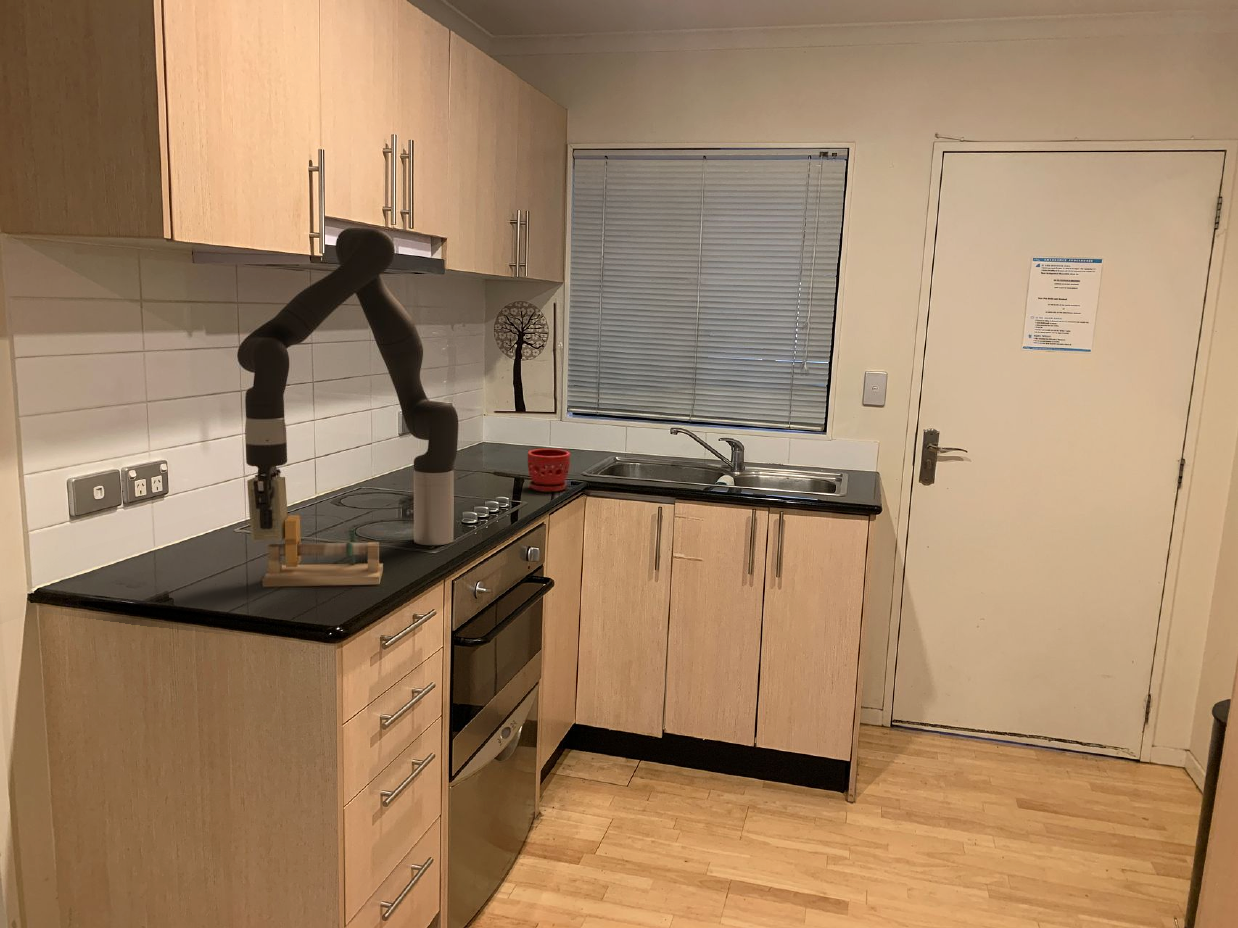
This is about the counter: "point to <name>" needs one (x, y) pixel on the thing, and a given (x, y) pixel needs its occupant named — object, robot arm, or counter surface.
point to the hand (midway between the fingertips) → (269, 524)
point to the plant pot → (548, 469)
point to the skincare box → (277, 512)
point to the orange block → (292, 540)
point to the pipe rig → (325, 565)
